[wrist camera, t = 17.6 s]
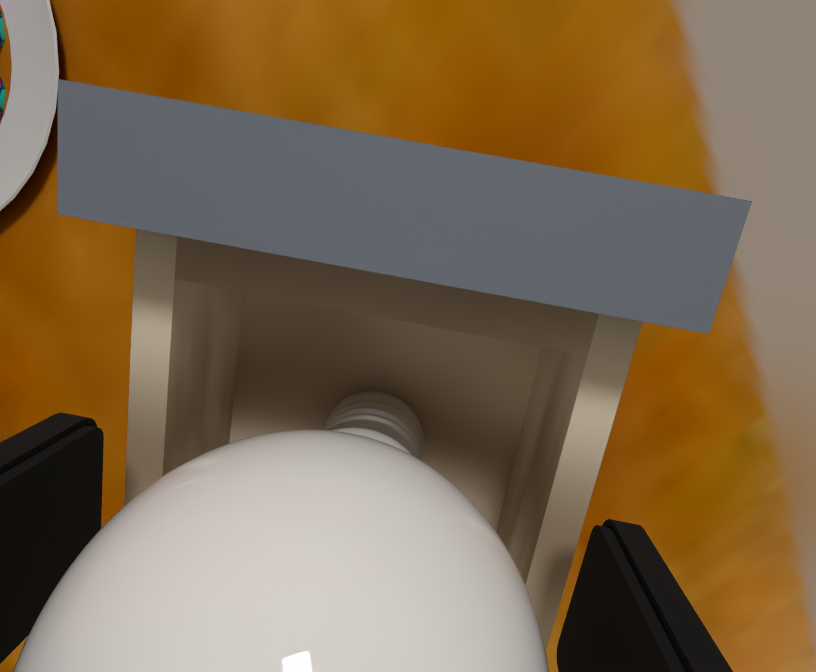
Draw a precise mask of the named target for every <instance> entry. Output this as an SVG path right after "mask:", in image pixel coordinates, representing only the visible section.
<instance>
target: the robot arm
mask: <svg viewBox="0 0 816 672" xmlns="http://www.w3.org/2000/svg"><path fill="white" fill-rule="evenodd" d="M103 440H104V437H103V432H102V430H101V429H100V428H97V425H96V422H95V421H94V420H93V419H92V418H87V417H81V416H76V415H71V414H66V413H57V414H54V415H53V416H51V417H49V418H47V419H45V420H43V421H41V422H39V423H37V424H35V425H33V426H31V427H29V428H27V429H26V430H24V431H22V432H20V433H18V434H16V435H14V436H12V437H10V438H8V439H6V440H4V441H2V442H1V443H0V663H1V662H2V661H3V660H4V659H5V658H6V657H7V656H8V655H9V654H10V653H11V652H12V651H13V650H14V649H15V648H16V647H17V646H18V645H19V644H20V643H21V642H22V641H23V640H24V639H25V638H26V637H27V636H28V635H29V633H30V631H31V629H32V627H33V625H34V623H35V621H36V619H37V617H38V616H39V614H40V612H41V610H42V608H43V607H44V605H45V603H46V602H47V600H48V598H49V597H50V595H51V593H52V592H53V590H54V589H55V587H56V585H57V584H58V582H59V581H60V579H61V578H62V577H63V575H64V574H65V572H66V571H67V569H68V568H69V567H70V565H71V564H72V563H73V561H74V560H75V559H76V557H77V556H78V555H79V554H80V552H81V551H82V550H83V549H84V547H85V546H86V545H87V544H88V543H89V541H90V540H91V539H92V538H93V537H94V536H95V535H96V534H97V532H98V531H99V530H100V529H101V507H102V474H103ZM557 665H558V670H559V672H733V671H732V670H731V668H730V666H729V665H728V663H727V662H726V660H725V658H724V657H723V655H722V654H721V652H720V650H719V649H718V647H717V645H716V644H715V642H714V641H713V639H712V637H711V636H710V634H709V633H708V631H707V629H706V628H705V626H704V625H703V623H702V621H701V620H700V618H699V617H698V615H697V613H696V612H695V610H694V609H693V607H692V605H691V604H690V602H689V601H688V599H687V597H686V596H685V594H684V593H683V591H682V589H681V588H680V586H679V585H678V583H677V581H676V580H675V578H674V577H673V575H672V573H671V572H670V570H669V569H668V567H667V565H666V564H665V562H664V561H663V559H662V557H661V556H660V554H659V553H658V551H657V549H656V548H655V546H654V545H653V543H652V541H651V540H650V538H649V537H648V535H647V533H646V532H645V530H644V529H643V528H642V526H640V525H636V524H631V523H626V522H621V521H616V520H611V519H608V520H606V521H605V522H604V524H603V525H602V526H599V525H596V526H594V528H593V530H592V532H591V535H590V539H589V542H588V545H587V549H586V552H585V555H584V559H583V562H582V565H581V569H580V572H579V575H578V579H577V582H576V585H575V589H574V592H573V595H572V599H571V602H570V605H569V609H568V612H567V615H566V619H565V622H564V625H563V629H562V632H561V635H560V639H559V642H558V646H557Z"/></svg>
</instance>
